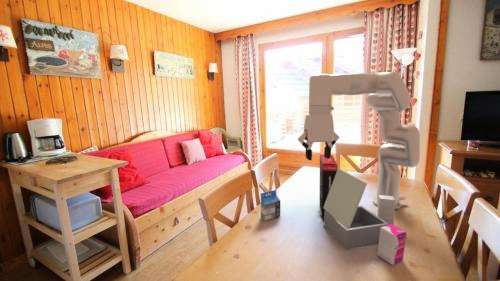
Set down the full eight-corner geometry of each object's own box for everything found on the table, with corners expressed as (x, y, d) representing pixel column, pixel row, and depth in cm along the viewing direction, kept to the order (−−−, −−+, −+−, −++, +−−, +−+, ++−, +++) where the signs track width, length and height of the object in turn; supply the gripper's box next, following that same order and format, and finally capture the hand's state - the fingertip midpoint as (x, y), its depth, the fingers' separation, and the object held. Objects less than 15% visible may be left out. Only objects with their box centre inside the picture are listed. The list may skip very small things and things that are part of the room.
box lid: (340, 169, 101) (338, 168, 101) (367, 183, 85) (364, 182, 84) (325, 208, 103) (323, 207, 103) (348, 229, 87) (346, 229, 86)
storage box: (360, 221, 108) (361, 205, 106) (387, 242, 92) (389, 224, 91) (323, 227, 104) (324, 210, 103) (345, 249, 89) (346, 230, 87)
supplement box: (392, 266, 80) (395, 235, 77) (376, 256, 85) (379, 226, 83) (403, 261, 82) (407, 231, 80) (387, 251, 87) (390, 222, 85)
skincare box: (391, 221, 108) (393, 196, 105) (393, 225, 104) (396, 200, 102) (376, 219, 110) (378, 194, 107) (377, 223, 106) (380, 198, 103)
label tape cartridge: (264, 221, 110) (264, 196, 108) (260, 217, 113) (260, 193, 111) (280, 216, 114) (280, 192, 112) (276, 213, 117) (276, 189, 115)
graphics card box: (336, 221, 108) (339, 163, 103) (320, 220, 110) (322, 163, 105) (331, 204, 125) (333, 154, 120) (317, 204, 126) (319, 153, 121)
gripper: (335, 108, 91) (333, 154, 94) (292, 110, 87) (292, 158, 90) (347, 109, 83) (345, 159, 87) (301, 111, 80) (300, 163, 83)
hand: (318, 158), depth 89 cm, fingers open, 6 cm apart
